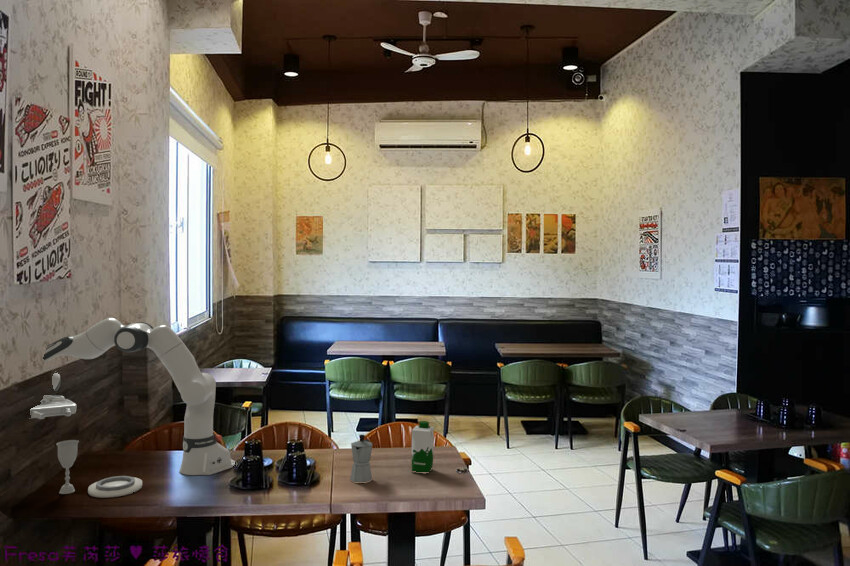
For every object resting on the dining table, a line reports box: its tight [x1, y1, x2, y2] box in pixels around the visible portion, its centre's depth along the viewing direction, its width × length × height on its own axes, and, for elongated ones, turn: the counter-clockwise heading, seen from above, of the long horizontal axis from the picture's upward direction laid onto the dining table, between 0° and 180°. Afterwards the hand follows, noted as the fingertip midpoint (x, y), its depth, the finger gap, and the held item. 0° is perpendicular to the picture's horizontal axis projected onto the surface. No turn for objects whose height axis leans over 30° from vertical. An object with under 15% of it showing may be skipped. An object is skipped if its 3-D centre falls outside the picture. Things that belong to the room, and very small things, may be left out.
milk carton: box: [411, 420, 435, 472], centre depth 255 cm, size 9×9×20 cm
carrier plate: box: [87, 475, 143, 499], centre depth 228 cm, size 18×18×3 cm
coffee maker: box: [349, 434, 373, 483], centre depth 243 cm, size 15×9×18 cm, turn 168°
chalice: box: [56, 439, 80, 495], centre depth 224 cm, size 7×7×18 cm
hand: (56, 415), depth 229 cm, fingers open, 8 cm apart
